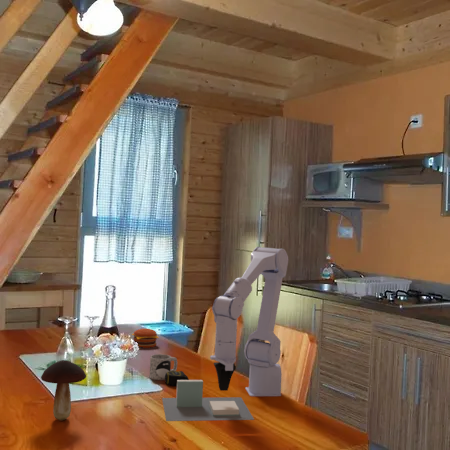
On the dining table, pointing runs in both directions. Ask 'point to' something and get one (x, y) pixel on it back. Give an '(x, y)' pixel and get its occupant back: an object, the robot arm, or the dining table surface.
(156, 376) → the mug
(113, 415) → the dining table surface
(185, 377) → the tape measure
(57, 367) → the decorative mushroom
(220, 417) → the mat
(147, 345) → the hamburger
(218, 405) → the tile
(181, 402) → the tile
